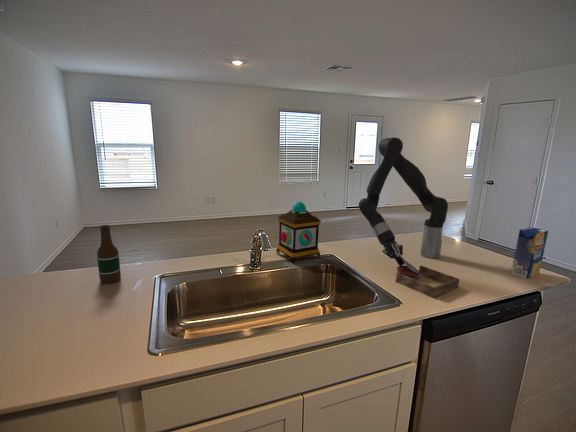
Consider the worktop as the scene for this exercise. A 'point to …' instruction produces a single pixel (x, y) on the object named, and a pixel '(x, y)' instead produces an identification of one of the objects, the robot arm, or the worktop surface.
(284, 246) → the decorative lantern
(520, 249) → the beverage box
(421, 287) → the box
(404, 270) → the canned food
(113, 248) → the beer bottle
